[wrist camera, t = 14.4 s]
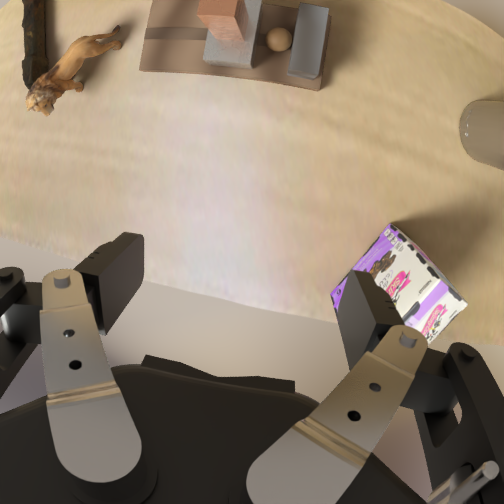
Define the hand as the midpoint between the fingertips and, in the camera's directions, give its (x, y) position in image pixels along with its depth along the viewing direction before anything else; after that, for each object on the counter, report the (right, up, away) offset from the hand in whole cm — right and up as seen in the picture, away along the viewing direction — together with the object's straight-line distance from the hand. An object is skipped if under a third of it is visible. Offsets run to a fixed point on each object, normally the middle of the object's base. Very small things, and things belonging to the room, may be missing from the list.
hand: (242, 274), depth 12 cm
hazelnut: (+3, +25, +19) cm, 32 cm away
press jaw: (-1, +26, +19) cm, 32 cm away
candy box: (+18, -2, +32) cm, 37 cm away
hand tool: (-31, +33, +21) cm, 50 cm away
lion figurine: (-22, +26, +23) cm, 41 cm away
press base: (-2, +27, +21) cm, 34 cm away
